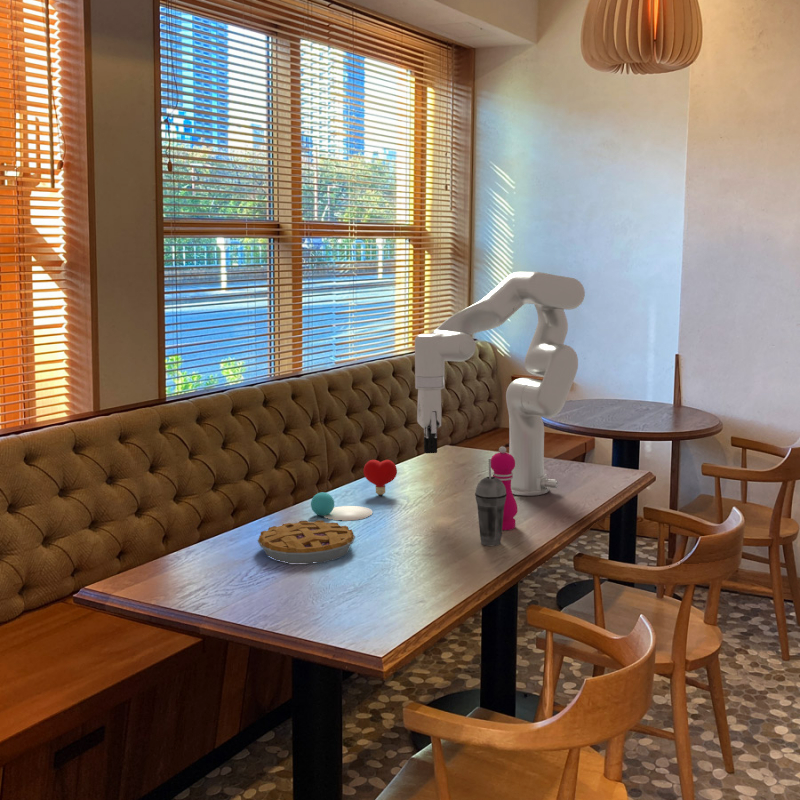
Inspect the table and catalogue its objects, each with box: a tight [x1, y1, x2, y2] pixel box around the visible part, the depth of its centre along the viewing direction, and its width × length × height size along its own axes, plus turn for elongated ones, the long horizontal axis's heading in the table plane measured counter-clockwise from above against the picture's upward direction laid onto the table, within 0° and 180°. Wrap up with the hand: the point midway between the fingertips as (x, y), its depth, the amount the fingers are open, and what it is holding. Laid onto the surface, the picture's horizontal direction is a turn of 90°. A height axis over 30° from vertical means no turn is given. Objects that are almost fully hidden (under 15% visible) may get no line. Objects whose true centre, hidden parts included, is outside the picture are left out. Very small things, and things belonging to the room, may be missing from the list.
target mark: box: [324, 505, 374, 522], centre depth 240 cm, size 13×13×1 cm
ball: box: [310, 491, 335, 517], centre depth 238 cm, size 6×6×6 cm
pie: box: [257, 519, 356, 564], centre depth 210 cm, size 22×22×5 cm
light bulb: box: [362, 459, 398, 497], centre depth 256 cm, size 9×7×10 cm
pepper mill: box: [490, 446, 519, 531], centre depth 225 cm, size 7×7×20 cm
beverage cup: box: [474, 458, 507, 547], centre depth 212 cm, size 7×7×20 cm
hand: (430, 452), depth 240 cm, fingers closed
